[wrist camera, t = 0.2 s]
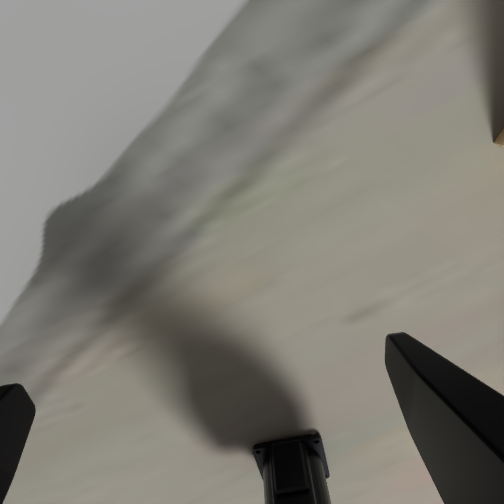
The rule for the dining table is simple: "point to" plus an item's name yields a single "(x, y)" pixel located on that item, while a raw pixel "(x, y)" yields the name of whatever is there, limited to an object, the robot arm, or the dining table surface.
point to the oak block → (500, 139)
